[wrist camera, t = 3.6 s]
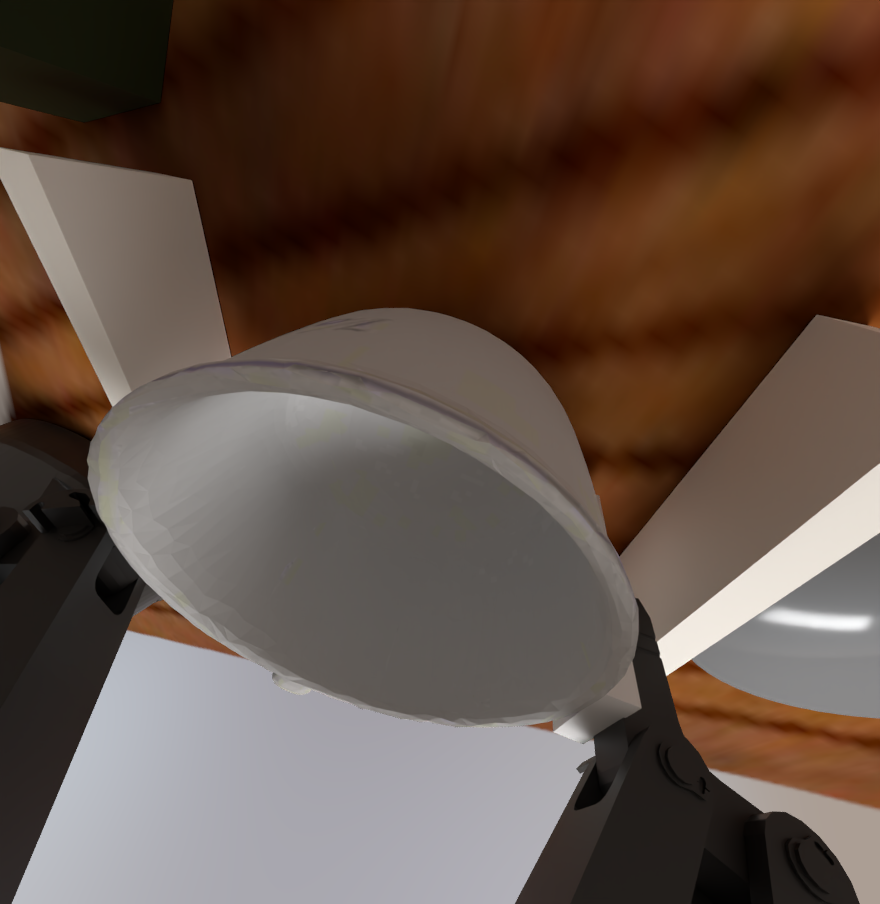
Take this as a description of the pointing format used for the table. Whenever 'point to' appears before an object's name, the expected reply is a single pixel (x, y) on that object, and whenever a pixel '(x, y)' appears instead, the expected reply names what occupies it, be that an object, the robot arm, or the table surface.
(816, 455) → the white u-shaped frame
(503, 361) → the teacup
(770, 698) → the grey flat disc
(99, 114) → the wine bottle
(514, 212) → the table surface
